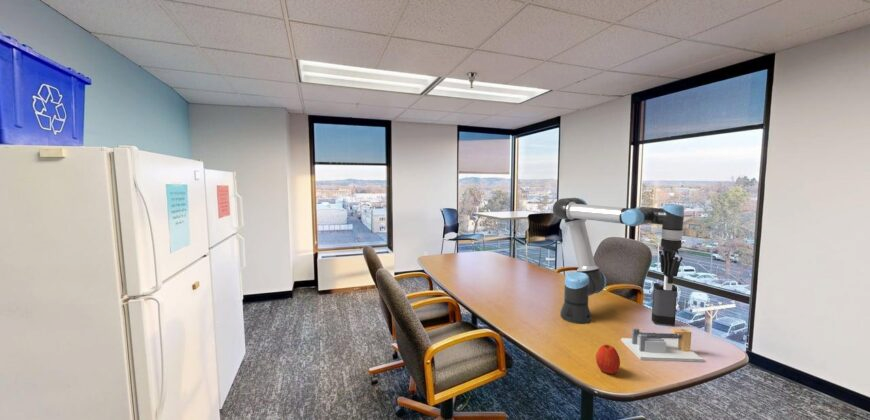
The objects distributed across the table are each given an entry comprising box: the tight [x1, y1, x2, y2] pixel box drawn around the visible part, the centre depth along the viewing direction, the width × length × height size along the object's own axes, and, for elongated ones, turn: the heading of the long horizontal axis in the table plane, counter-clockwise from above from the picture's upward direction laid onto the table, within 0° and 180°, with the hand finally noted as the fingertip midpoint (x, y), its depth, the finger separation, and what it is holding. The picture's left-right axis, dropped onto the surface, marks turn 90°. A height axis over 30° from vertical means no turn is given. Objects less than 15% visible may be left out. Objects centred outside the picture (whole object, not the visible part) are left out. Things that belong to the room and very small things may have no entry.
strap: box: [635, 332, 681, 340], centre depth 139 cm, size 17×4×1 cm, turn 86°
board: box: [620, 327, 704, 363], centre depth 139 cm, size 24×16×8 cm, turn 86°
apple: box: [595, 344, 621, 375], centre depth 124 cm, size 8×8×11 cm
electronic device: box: [651, 282, 678, 327], centre depth 165 cm, size 9×6×20 cm, turn 71°
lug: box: [670, 327, 692, 351], centre depth 137 cm, size 6×3×8 cm, turn 86°
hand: (667, 289), depth 148 cm, fingers closed
